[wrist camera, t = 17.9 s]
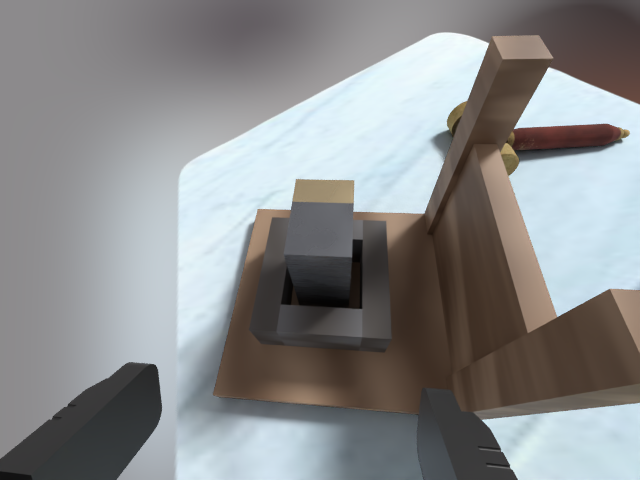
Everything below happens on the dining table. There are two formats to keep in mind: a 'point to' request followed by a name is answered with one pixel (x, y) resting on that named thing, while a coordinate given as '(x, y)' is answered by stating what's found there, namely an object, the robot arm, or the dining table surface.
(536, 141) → the gavel
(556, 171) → the dining table surface
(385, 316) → the wooden peg insertion stand
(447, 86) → the dining table surface
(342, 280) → the tan-topped grey pillar
